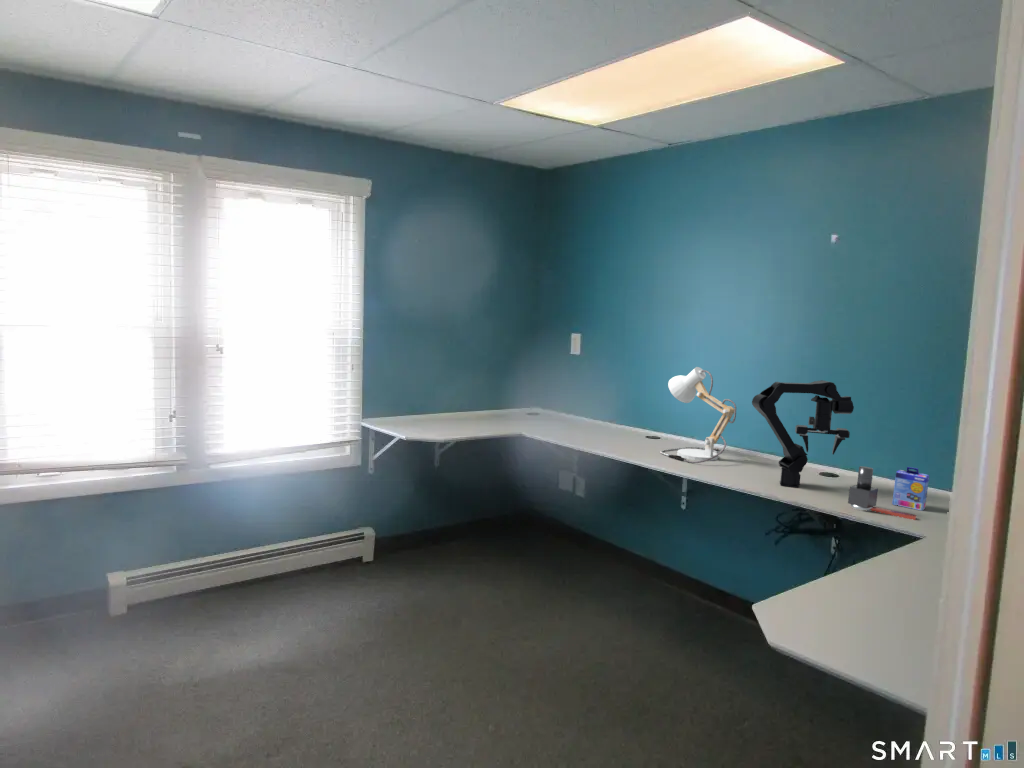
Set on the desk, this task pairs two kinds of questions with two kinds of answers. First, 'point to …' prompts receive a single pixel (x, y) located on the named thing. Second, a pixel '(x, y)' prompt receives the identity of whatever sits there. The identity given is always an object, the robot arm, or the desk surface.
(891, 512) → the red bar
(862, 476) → the grey cylinder on block
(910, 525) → the desk surface
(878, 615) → the desk surface
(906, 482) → the ink cartridge box
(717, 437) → the desk lamp
